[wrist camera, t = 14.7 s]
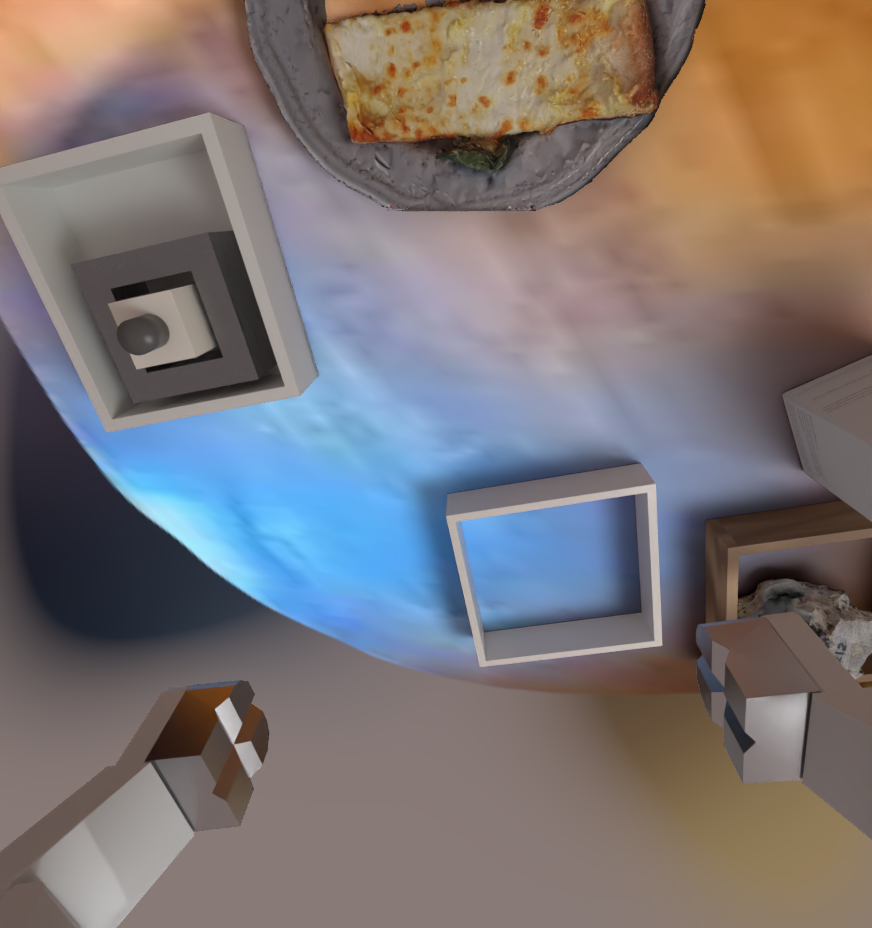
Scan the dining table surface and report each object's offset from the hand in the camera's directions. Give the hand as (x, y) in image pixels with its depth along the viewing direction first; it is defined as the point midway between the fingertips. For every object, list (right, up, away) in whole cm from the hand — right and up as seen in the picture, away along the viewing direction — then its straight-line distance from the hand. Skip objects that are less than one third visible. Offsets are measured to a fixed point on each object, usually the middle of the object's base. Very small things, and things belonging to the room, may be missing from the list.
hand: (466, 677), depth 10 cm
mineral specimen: (+30, -9, +37) cm, 48 cm away
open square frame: (+9, -4, +36) cm, 37 cm away
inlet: (-17, +15, +28) cm, 36 cm away
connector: (-17, +14, +28) cm, 36 cm away
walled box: (-18, +16, +28) cm, 37 cm away
